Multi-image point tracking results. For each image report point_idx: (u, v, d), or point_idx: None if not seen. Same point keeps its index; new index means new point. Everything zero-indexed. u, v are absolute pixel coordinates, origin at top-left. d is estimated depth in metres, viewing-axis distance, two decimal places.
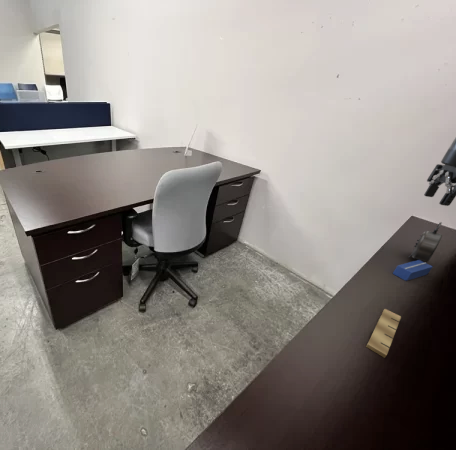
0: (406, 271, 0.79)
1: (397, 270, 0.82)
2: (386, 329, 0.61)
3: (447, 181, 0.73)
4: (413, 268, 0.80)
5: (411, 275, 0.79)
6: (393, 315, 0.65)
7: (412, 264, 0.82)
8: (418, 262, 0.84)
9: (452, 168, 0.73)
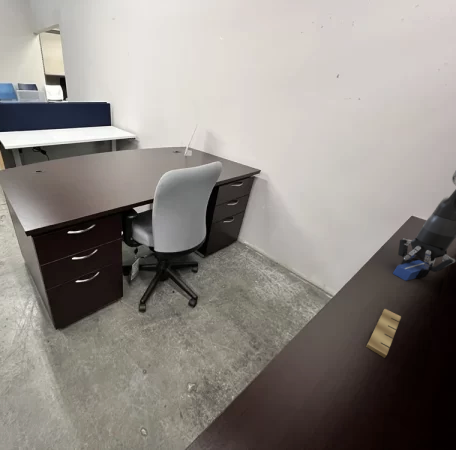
0: (406, 271, 0.79)
1: (397, 270, 0.82)
2: (386, 329, 0.61)
3: (427, 259, 0.77)
4: (413, 268, 0.80)
5: (411, 275, 0.79)
6: (393, 315, 0.65)
7: (412, 264, 0.82)
8: (418, 262, 0.84)
9: (430, 247, 0.77)
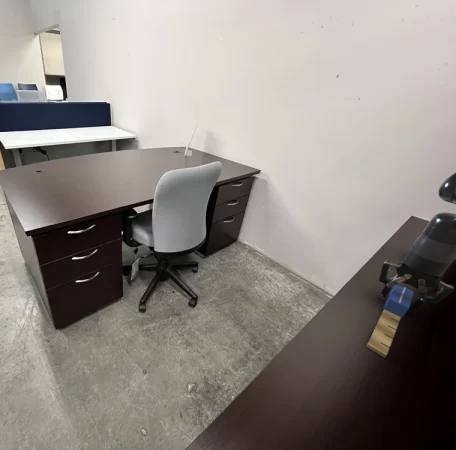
0: (401, 306, 0.64)
1: (389, 305, 0.65)
2: (386, 329, 0.61)
3: (422, 290, 0.63)
4: (404, 299, 0.66)
5: None
6: (393, 315, 0.65)
7: (398, 293, 0.68)
8: (399, 287, 0.71)
9: (422, 274, 0.62)
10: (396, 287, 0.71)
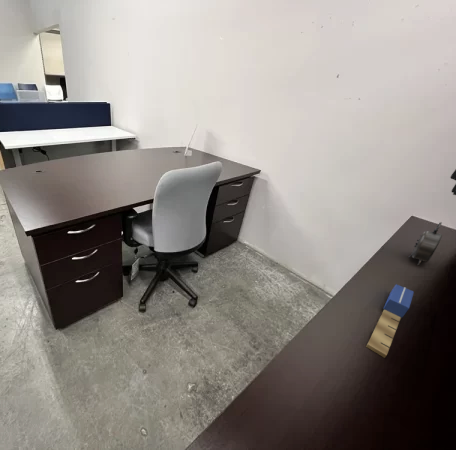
0: (401, 306, 0.64)
1: (389, 305, 0.65)
2: (386, 329, 0.61)
3: None
4: (404, 299, 0.66)
5: None
6: (393, 315, 0.65)
7: (398, 293, 0.68)
8: (399, 287, 0.71)
9: None
10: (396, 287, 0.71)
